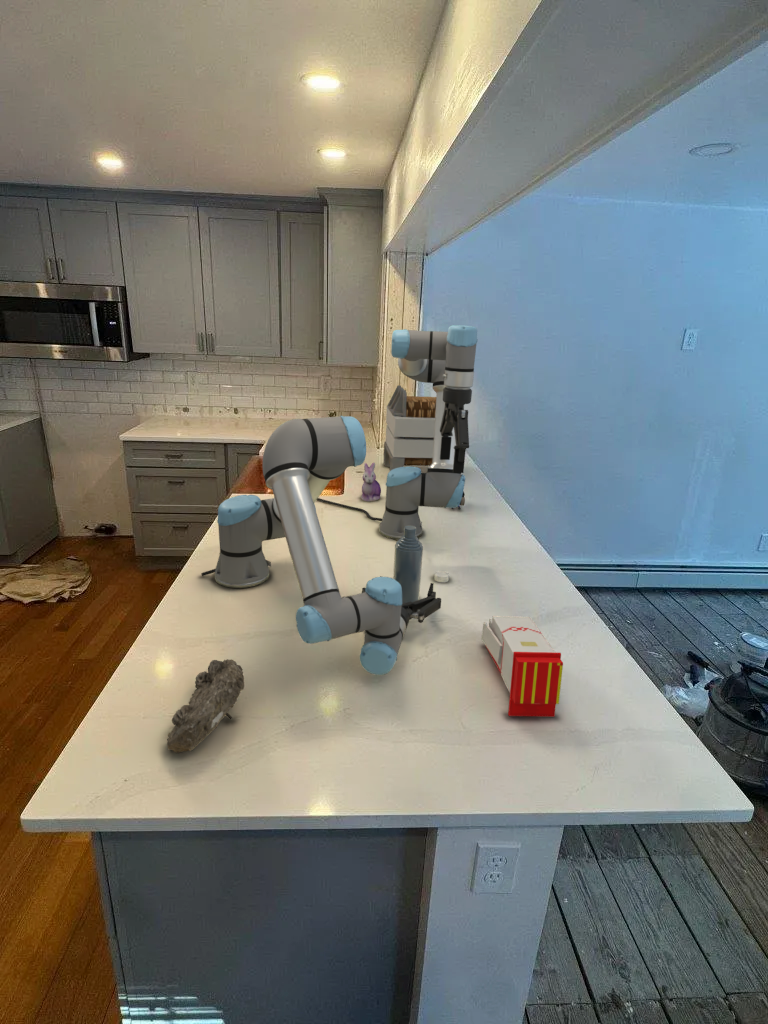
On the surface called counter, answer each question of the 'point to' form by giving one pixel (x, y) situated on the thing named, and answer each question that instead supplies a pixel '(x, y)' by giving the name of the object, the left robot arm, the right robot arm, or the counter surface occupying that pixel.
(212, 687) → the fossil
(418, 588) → the bottle
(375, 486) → the figurine
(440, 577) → the cap
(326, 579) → the left robot arm
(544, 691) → the toy
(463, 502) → the figurine character
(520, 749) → the counter surface
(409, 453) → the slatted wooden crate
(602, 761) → the counter surface
